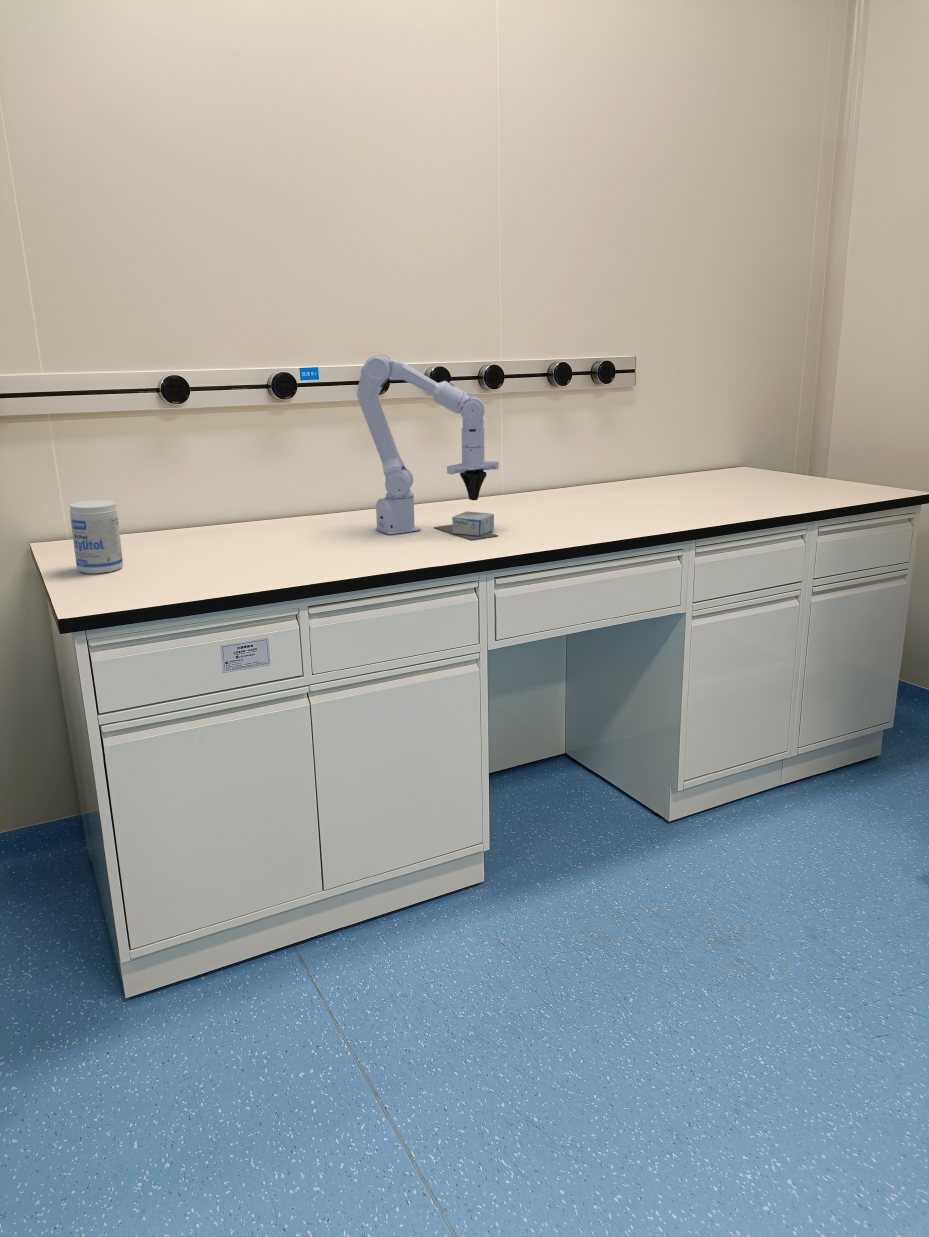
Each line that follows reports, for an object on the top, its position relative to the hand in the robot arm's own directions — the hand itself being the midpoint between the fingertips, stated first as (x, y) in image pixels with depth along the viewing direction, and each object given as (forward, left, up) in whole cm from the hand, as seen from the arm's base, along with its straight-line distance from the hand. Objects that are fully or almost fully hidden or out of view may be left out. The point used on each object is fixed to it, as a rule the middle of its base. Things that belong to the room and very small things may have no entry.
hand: (473, 499), depth 230 cm
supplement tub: (-89, +14, -8) cm, 91 cm away
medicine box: (+2, -1, -5) cm, 6 cm away
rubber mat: (-3, -1, -8) cm, 9 cm away
